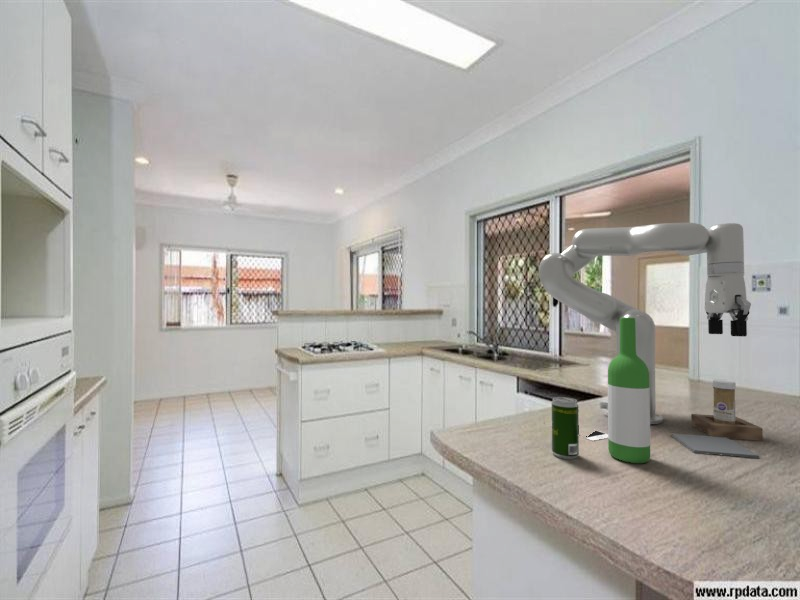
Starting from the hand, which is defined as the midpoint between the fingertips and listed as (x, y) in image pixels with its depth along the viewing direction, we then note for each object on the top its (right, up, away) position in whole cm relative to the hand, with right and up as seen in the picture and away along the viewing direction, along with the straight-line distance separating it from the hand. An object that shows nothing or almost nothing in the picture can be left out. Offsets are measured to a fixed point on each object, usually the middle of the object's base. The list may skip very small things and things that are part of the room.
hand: (726, 335), depth 101 cm
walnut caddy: (-2, -25, -2) cm, 25 cm away
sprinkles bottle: (-2, -25, -2) cm, 26 cm away
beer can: (-51, -25, -18) cm, 59 cm away
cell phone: (-40, -26, 0) cm, 47 cm away
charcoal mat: (-14, -25, -12) cm, 31 cm away
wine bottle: (-38, -25, -20) cm, 49 cm away
